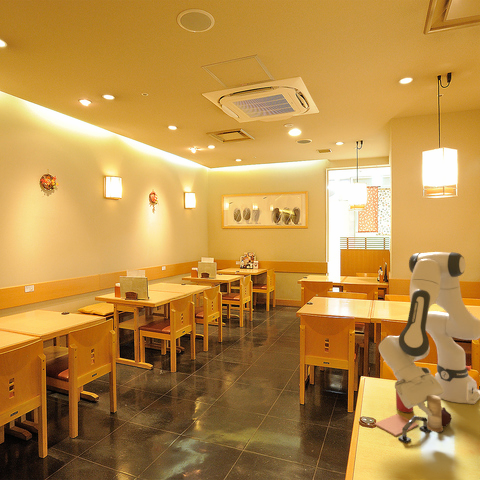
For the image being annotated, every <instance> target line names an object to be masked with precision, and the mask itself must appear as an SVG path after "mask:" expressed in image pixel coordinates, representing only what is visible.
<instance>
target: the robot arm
mask: <svg viewBox="0 0 480 480" xmlns="http://www.w3.org/2000/svg"><path fill="white" fill-rule="evenodd" d="M408 266H409V267H408V268H409V271H410V272H411V276H410V283H409V300H410V307H409V313H408V318H407V322H406V325H405V327H404V329H402V331H401V332H400V334H399V335H387V336H385V337H384V338H383V339H382V340H381V341H380V342H379V344H378V351H379V353H380V355H381V357H382V359H383V360H384V362H385V364H386V365H387V366H388V367H390V369H391V370H392V372H393V375H394V376H395V378H396V379H397V381H395V383H394V388H395V391H396V390H397V393H398V395H399V397H400V399H401V401H402V402H403V404H404V406H405V407H407V408H408V409H410V408H412V407H413V408H414V407H416V406H417V407H418V408H419V409H420V410H421V411H422V412H424V413H425V414H426V416H427V417H428V416H431V415H433V414H434V413H433V412H432V410H431V409H428V408H427V405H426V403H425V402H427V396H428V395H435V396H438V397H440V398H441V400H445V401H447V402H452V403H458V404H469V405H475V404H476V403H477V402H478V400H480V389H478V385H477V381H476V380H475V379H474V378H473V377H472V376H470V375H469V372H470V371H471V369H472V368H471V366H468V365H466V364H467V363H466V352H465V350H464V348H463V347H462V346H460V345H459V344H458V343H457V342H455V341H454V339H453V338H456V339H461V340H466V341H468V340H469V341H471V340H473V341H475V340H476V341H477V340H479V339H480V319H479V318H477V317H476V316H475V315H473V314H472V313H471V312H470V311H469V310H468V308H467V307H466V305H465V303H464V301H463V298H462V292H461V286H460V278H459V277H460V276H462V275H463V274H464V273H465V270H466V260H465V257H464V256H463V255H462V254H461V253H458V252H452V251H451V252H445V251H435V252H434V251H433V252H418V253H413V254H412V255H411V256H410V258H409V260H408ZM434 304H436V305H437V306H438V307H440V308H442V309H443V310H444V311H438V310H430V309H431V306H432V305H434ZM428 334H429V335H430V337H431V338H432V341H434V343H435V346H436V352H437V353H436V354H437V364H436V365H437V366H436V371H437V372H436V373H435V374H434V375H433V374H432V372H431V370H430V369H429V368H428V367H422V366H417V365H416V363H415V362H416V361H420V360H423V359H425V358H427V356H428V355H429V353H430V349H431V348H430V340H429V337H428ZM441 410H443V406H441Z"/></svg>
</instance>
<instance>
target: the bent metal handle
mask: <svg viewBox="0 0 480 480" xmlns="http://www.w3.org/2000/svg"><path fill="white" fill-rule="evenodd" d="M416 421H418V422H419V421H420V422H422V423H423V424H422V425H421V426H419V430H421V431H422V432H425V434H427V433H429V432H432V431H431V430H429V429H428V428H427V423H428V417H424V416H418V415H413V416H411V418H410V419H409V421H408V423H407V424H406V425H405V426H404V427H403V429H402V434H401V435H399V436H397V437H398V440H399V441H400V442H402V443H404V444H408V443H409V442H411V441H412V439H411V438H410V437H408V436H407V435H408V434H407V432H408V431H407V429H408V428H409V427H410V426H411V425H412V424H413V423H414V422H415V423H416Z"/></svg>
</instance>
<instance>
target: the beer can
mask: <svg viewBox="0 0 480 480" xmlns="http://www.w3.org/2000/svg"><path fill="white" fill-rule="evenodd" d="M395 405H396V409H397V410H398V411H399V412H401V413H405V414H409V413H412V412H413V411H414V407H412V408H410V409H408V408H407V407H405V406H404V404H403V402H402V401H401V399H400V397H399V395H398V393H397V390H396V389H395Z"/></svg>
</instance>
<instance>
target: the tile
mask: <svg viewBox="0 0 480 480" xmlns="http://www.w3.org/2000/svg"><path fill="white" fill-rule="evenodd" d="M409 420H410V419H408V418H406V417H404V416H403V415H400V414H398V413H396V414H394V415H391V416H389V417H386V418H384V419H381V420H379V421H377V422H375V423H374V426H376V427H378V428H380V429H382V430H383V431H385V432H388V433H389V434H391V435H393V436H394V437H399V436H401V435H402V429H403V427H404V426H405V425H406V424H407V423H408V421H409ZM418 426H419V427H420V425H419V423H417V422H416V421H415V422H414V423H413V424H412V425H411V426H410V427H409V428H408V429H407V432H408V431H410V430H413V429H414V428H417V427H418Z"/></svg>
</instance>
